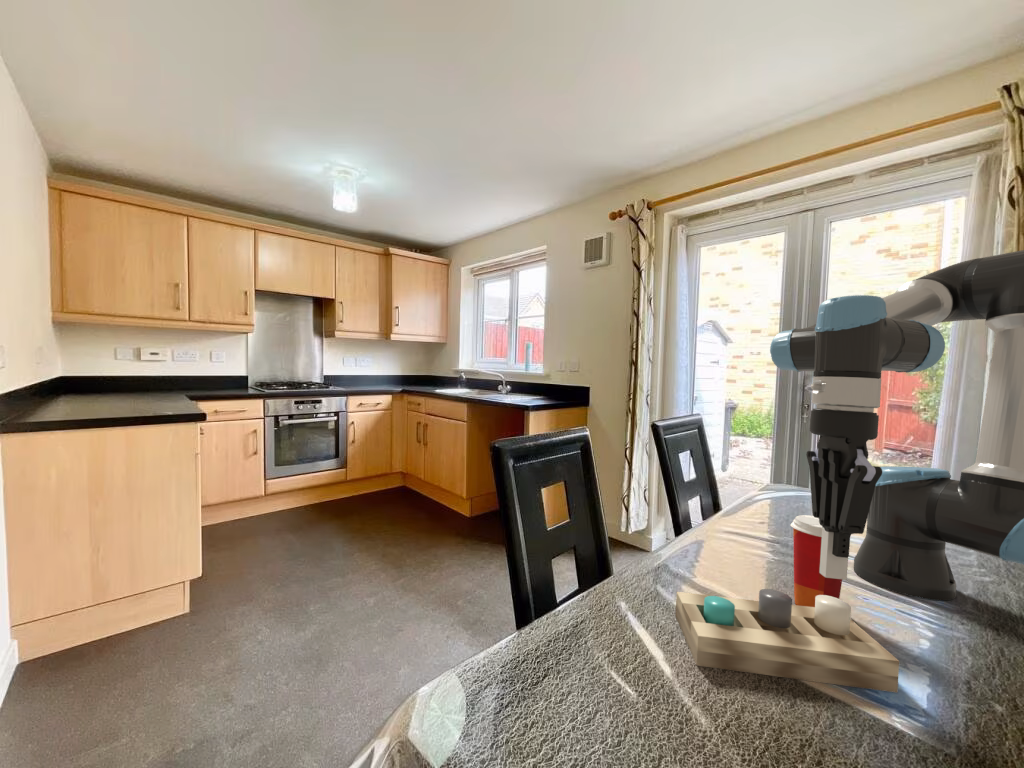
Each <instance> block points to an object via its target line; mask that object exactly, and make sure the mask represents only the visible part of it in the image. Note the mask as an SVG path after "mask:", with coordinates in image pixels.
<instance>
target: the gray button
mask: <svg viewBox="0 0 1024 768" xmlns="http://www.w3.org/2000/svg"><path fill="white" fill-rule="evenodd" d="M758 592H759V593H758V595H759V596H758V601H759V608H758V617H759V619H760V620H762V621H763V622H764V623H766V624H768V625H771V626H774V627H778V628H789V627H790V626H791V612H792V605H793V598H792V597H791V596H790V595H788V594H786V593H784V592H781V591H780V590H775V589H772V588H771V589H770V588H762V589H759V591H758Z"/></svg>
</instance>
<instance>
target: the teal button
mask: <svg viewBox="0 0 1024 768" xmlns="http://www.w3.org/2000/svg"><path fill="white" fill-rule="evenodd" d="M718 596H719V595H718ZM718 596H716V595H710V596H707V597H705V599H704V616H703V618H704V620H705V622H706V623H710V624H719V625H727V626H734V614H735V605H734V604H733V603H732V602H731V601H729V600H727V599H725V598H722V597H723V596H719V597H718Z"/></svg>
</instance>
